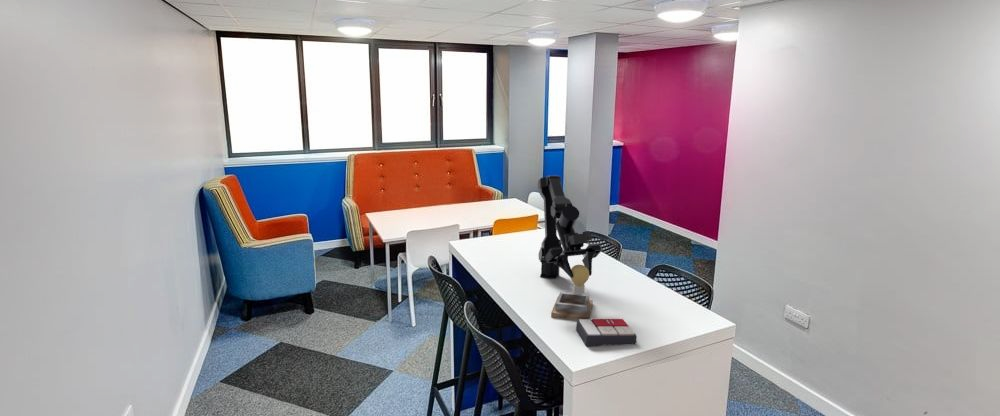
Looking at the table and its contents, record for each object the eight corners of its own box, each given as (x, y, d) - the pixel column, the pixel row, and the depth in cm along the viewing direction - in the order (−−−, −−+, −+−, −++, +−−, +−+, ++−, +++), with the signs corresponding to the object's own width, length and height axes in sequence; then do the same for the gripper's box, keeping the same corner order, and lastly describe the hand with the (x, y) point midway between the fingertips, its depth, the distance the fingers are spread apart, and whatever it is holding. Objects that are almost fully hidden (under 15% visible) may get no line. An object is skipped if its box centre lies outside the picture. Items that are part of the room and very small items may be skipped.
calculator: (637, 333, 149) (587, 333, 147) (635, 347, 150) (586, 347, 148) (623, 317, 160) (576, 317, 158) (622, 330, 161) (575, 330, 159)
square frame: (551, 316, 167) (551, 305, 166) (557, 300, 180) (558, 289, 179) (588, 321, 164) (589, 309, 163) (592, 304, 177) (593, 293, 176)
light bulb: (589, 291, 174) (591, 263, 171) (586, 298, 168) (588, 269, 165) (570, 289, 176) (572, 261, 173) (567, 296, 170) (568, 267, 167)
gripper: (550, 224, 167) (564, 268, 159) (600, 220, 173) (616, 262, 165) (539, 241, 176) (552, 283, 168) (587, 236, 182) (602, 277, 174)
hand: (581, 276), depth 169 cm, fingers closed on light bulb, 6 cm apart
